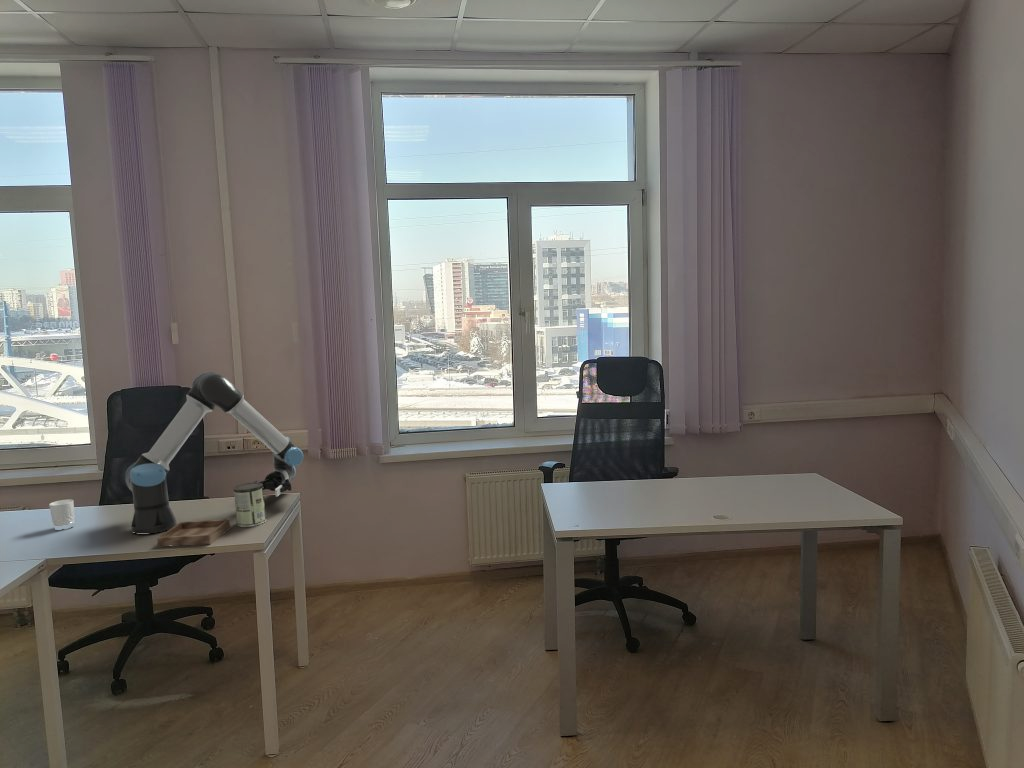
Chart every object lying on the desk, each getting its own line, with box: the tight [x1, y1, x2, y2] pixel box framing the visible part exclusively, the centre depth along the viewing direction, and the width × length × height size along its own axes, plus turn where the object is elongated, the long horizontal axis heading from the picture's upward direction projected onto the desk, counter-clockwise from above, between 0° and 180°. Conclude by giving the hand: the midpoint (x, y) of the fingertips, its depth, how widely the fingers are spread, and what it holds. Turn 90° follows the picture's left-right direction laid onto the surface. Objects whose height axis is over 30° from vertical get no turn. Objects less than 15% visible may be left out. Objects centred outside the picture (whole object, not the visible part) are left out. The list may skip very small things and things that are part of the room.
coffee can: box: [232, 481, 267, 528], centre depth 279 cm, size 10×10×14 cm
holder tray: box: [156, 519, 231, 547], centre depth 267 cm, size 18×18×3 cm
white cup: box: [48, 499, 76, 526], centre depth 287 cm, size 8×8×10 cm
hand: (258, 493), depth 289 cm, fingers open, 13 cm apart
